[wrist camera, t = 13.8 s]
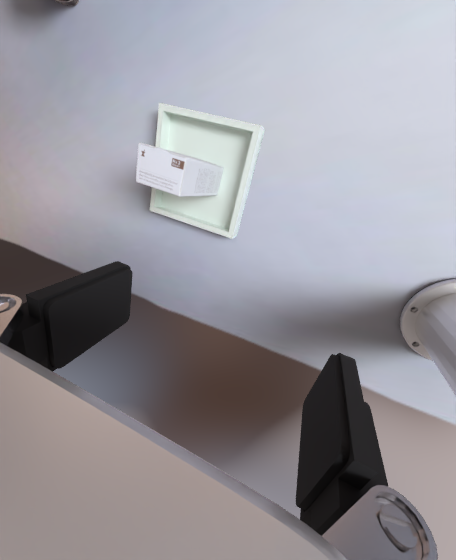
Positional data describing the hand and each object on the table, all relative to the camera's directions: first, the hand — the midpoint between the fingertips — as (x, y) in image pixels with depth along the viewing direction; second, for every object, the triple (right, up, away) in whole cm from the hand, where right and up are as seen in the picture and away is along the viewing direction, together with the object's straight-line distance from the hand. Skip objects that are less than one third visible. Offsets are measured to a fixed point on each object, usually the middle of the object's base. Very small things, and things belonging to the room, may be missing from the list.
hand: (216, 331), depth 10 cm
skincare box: (-3, +18, +26) cm, 32 cm away
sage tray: (-3, +19, +26) cm, 32 cm away
